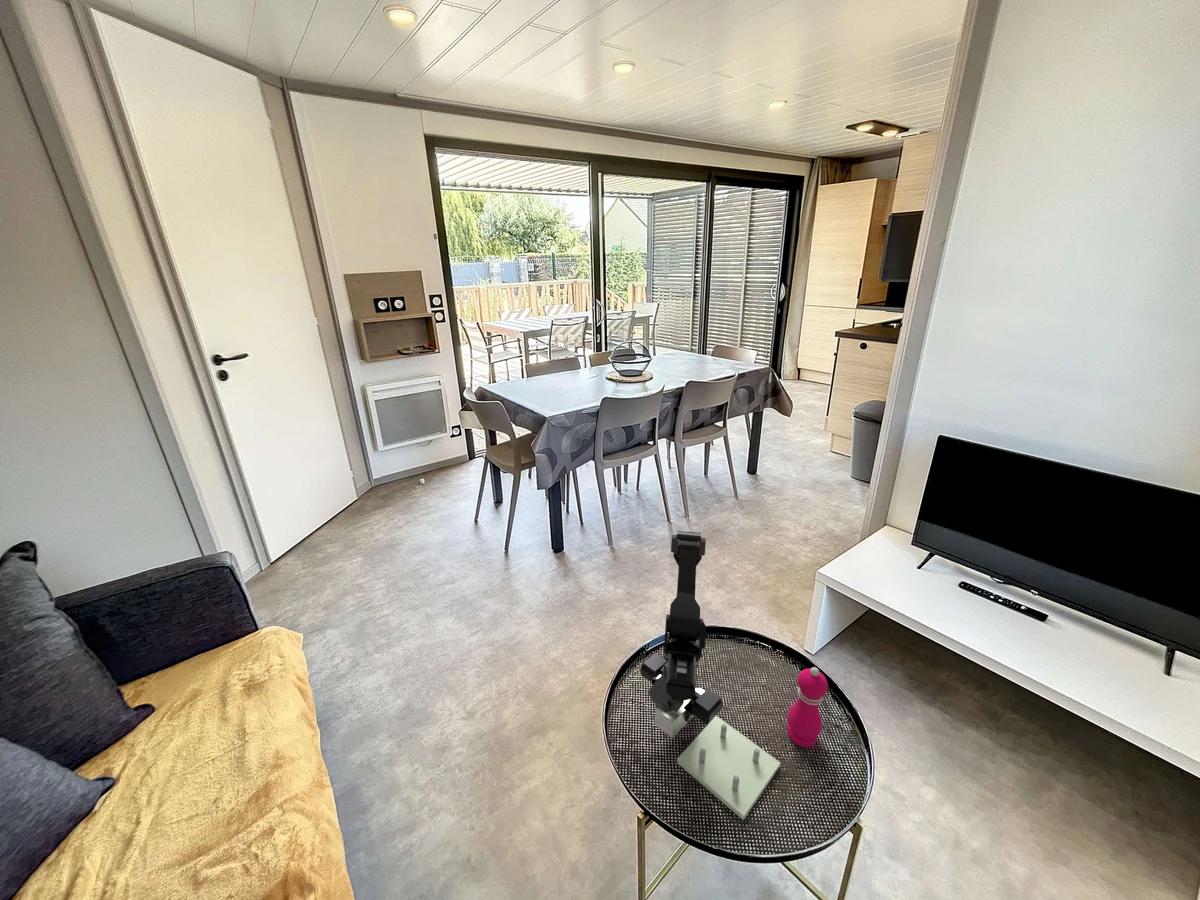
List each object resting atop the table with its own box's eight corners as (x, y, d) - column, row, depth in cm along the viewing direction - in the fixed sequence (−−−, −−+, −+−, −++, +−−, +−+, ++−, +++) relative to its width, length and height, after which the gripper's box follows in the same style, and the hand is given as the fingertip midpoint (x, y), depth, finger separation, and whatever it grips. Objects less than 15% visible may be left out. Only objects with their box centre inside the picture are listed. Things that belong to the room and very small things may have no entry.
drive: (672, 738, 104) (673, 722, 102) (654, 723, 108) (655, 707, 106) (700, 709, 111) (701, 693, 109) (682, 696, 114) (684, 680, 112)
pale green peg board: (676, 762, 103) (678, 749, 102) (715, 719, 113) (717, 706, 111) (743, 820, 93) (745, 806, 91) (779, 766, 102) (782, 753, 101)
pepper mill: (824, 748, 106) (841, 681, 99) (793, 751, 106) (807, 683, 98) (809, 719, 113) (823, 654, 105) (779, 721, 112) (791, 656, 105)
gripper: (624, 657, 104) (623, 709, 110) (695, 710, 92) (690, 766, 97) (657, 631, 111) (654, 681, 117) (727, 677, 99) (720, 731, 105)
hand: (677, 713), depth 109 cm, fingers closed on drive, 5 cm apart
